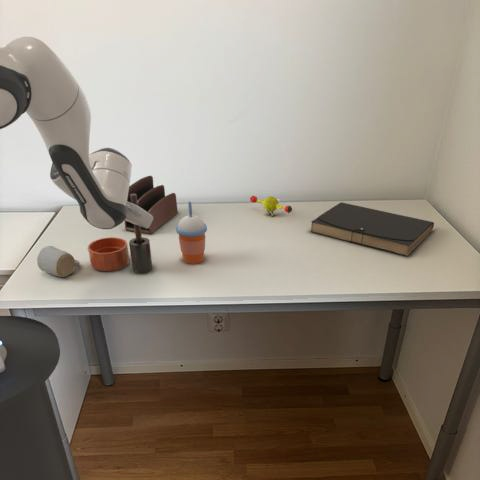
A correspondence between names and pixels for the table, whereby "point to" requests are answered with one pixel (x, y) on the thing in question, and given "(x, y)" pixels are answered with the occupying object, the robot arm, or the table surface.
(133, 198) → the stick
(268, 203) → the toy figure
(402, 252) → the black book
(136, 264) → the tube
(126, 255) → the bowl
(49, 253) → the ceramic mug
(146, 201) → the letter holder
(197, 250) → the cup with straw
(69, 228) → the table surface
